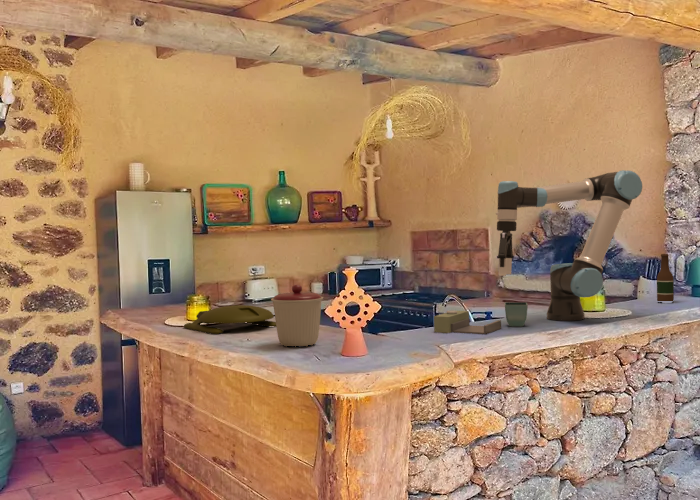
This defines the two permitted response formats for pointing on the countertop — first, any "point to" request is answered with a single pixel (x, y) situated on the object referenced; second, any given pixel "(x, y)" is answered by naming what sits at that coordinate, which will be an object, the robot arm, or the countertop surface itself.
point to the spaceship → (231, 317)
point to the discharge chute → (474, 327)
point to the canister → (297, 317)
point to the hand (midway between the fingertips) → (505, 275)
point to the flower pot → (516, 313)
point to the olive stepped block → (448, 320)
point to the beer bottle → (665, 281)
